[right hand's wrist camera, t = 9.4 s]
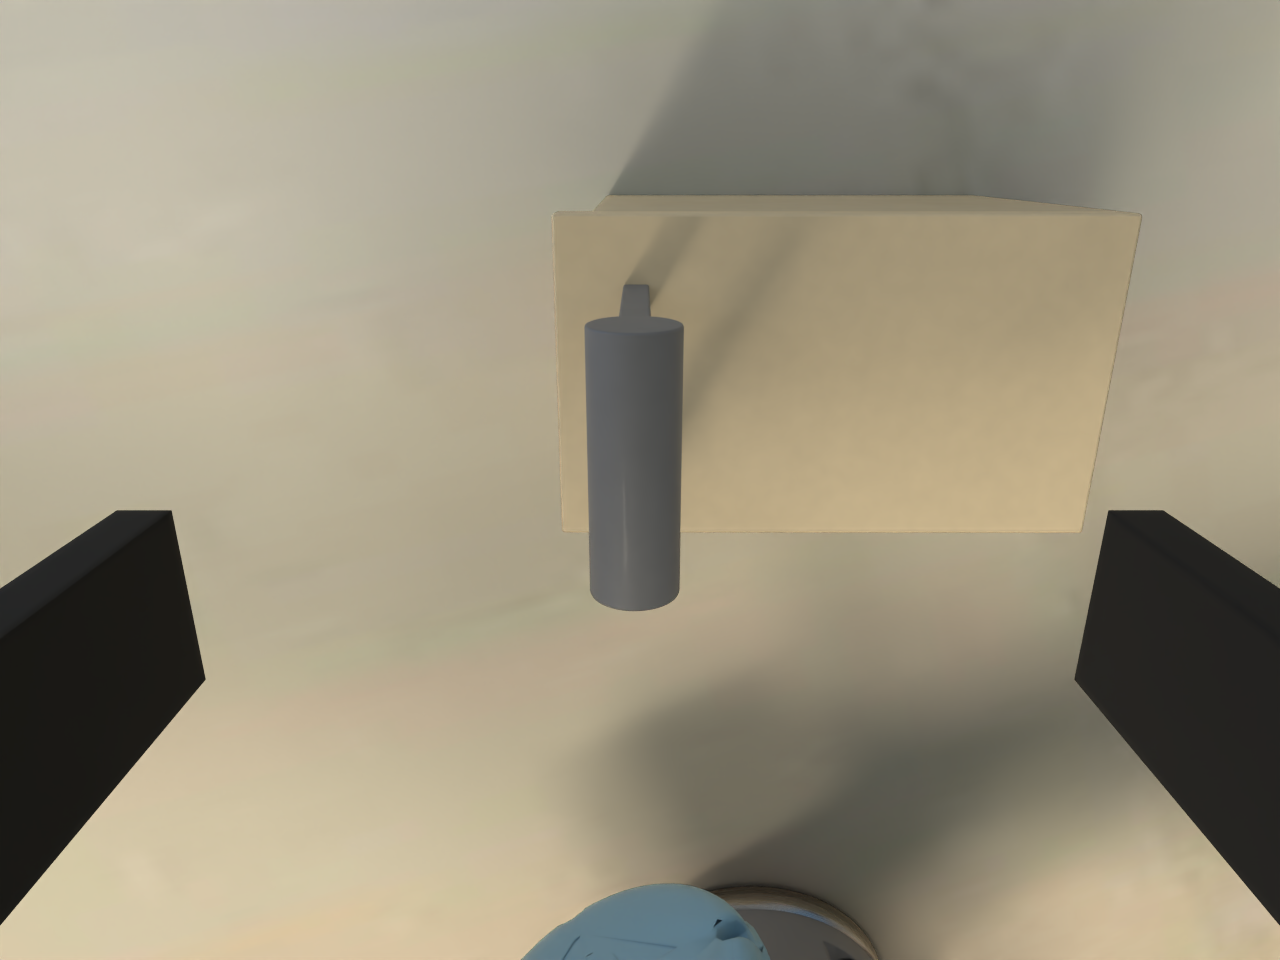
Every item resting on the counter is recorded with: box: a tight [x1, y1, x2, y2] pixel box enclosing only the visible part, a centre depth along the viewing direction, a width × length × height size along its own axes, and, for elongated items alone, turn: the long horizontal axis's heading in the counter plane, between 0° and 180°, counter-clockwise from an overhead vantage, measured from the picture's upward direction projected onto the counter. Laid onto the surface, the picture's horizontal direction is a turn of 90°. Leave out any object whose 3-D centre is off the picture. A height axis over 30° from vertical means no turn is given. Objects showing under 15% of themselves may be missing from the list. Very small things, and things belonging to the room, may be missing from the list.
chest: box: [593, 195, 1113, 211], centre depth 31 cm, size 14×9×11 cm, turn 90°
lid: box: [551, 211, 1142, 611], centre depth 21 cm, size 16×9×9 cm, turn 90°
